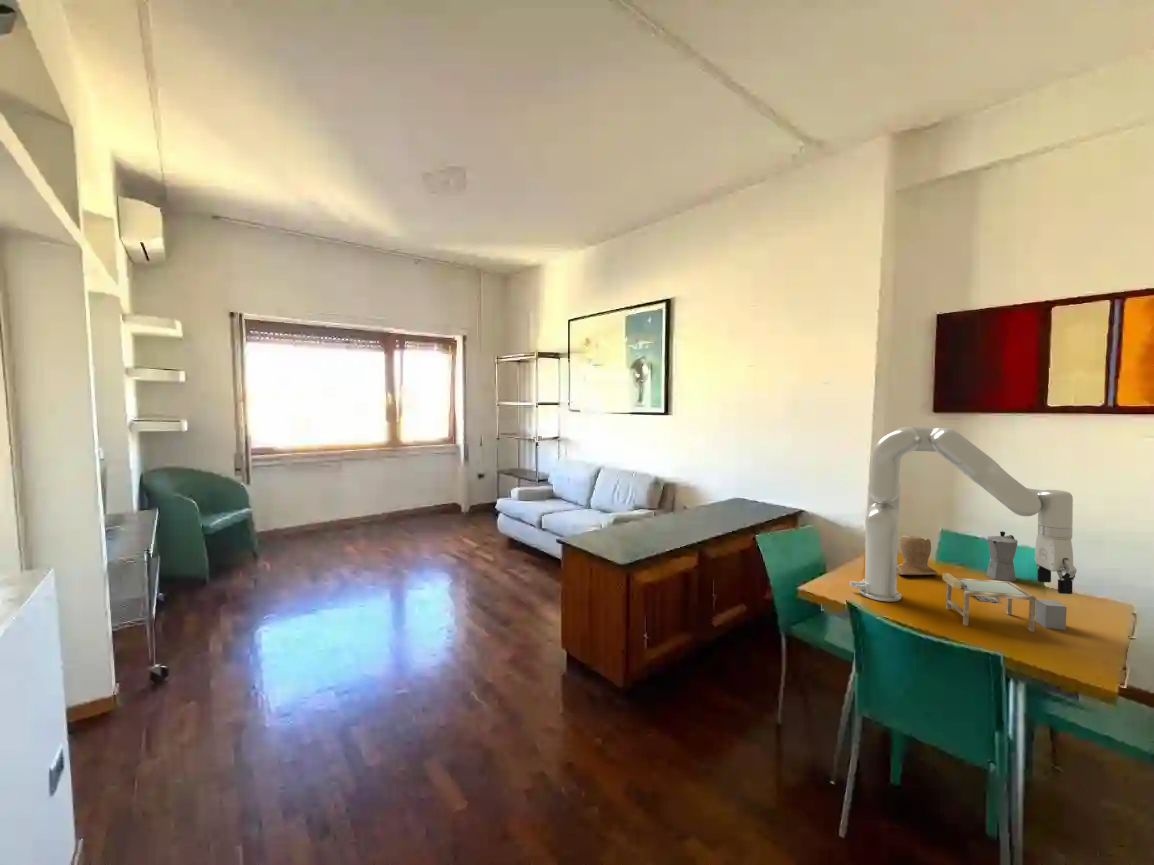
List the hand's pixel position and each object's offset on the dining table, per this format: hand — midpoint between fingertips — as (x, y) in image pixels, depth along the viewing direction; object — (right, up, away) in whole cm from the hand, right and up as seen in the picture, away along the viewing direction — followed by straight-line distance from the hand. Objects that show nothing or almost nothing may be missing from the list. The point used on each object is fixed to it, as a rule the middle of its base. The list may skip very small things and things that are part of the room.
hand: (1054, 587), depth 151 cm
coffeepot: (+20, -9, +42) cm, 47 cm away
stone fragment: (-2, -11, +31) cm, 32 cm away
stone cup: (-11, -9, +48) cm, 50 cm away
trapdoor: (-18, -2, +5) cm, 19 cm away
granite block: (0, -12, +1) cm, 12 cm away
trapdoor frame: (-16, -12, +5) cm, 20 cm away
